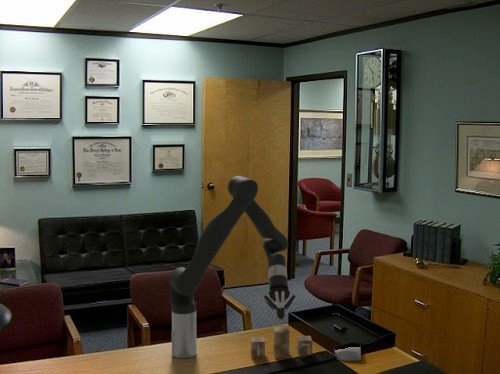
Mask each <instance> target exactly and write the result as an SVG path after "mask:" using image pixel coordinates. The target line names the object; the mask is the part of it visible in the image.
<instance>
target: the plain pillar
mask: <svg viewBox="0 0 500 374" xmlns="http://www.w3.org/2000/svg"><path fill="white" fill-rule="evenodd" d="M273 356H274V359H290V329H289V327H288V326H287V327H286V326H285V327H282V326H281V327H279V326H277V327H275V326H274V327H273Z"/></svg>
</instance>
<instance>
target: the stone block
mask: <svg viewBox="0 0 500 374" xmlns="http://www.w3.org/2000/svg"><path fill="white" fill-rule="evenodd" d="M361 350H362V349H361V346H360V347H348V348H345V349H338V350H335V349H334V356H335V357H336V359H338V361H357V362H358V361H361V358H362V357H361V354H362V351H361Z"/></svg>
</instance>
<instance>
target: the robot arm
mask: <svg viewBox="0 0 500 374" xmlns="http://www.w3.org/2000/svg"><path fill="white" fill-rule="evenodd" d="M227 190H228V193H229V195H230V196H231V197H232V199H231V201H230V203H229V204H228V206H226V207H225V208H224V209H223V210H222V211H220V212H219V213H218V214H217V215H215V216H213V217H212V218H211V219H210V220H209V221H208V223H207V225H205V226H204V229H203V231H202V232H201V233H200V235H199V238H198V242H197V244H196V248H195V252H194V255H193V257H192V259H191V260H190V261H189V263H188V265H187V266H186V267H182V266H181V267H177V268H175V269H173V271H172V272H171V274H170V277H169V282H168V283H169V301H170V306H171V357H172V358H176V359H190V358H193V357H195V356H197V352H198V351H197V348H198V347H197V303H196V301H195V298H194V293H195V292H196V291H197V290H198V288H199V286H200V284H201V282H202V280H203V278H204V276H205V274H206V272H207V270H208V268H209V267H210V265H211V263H212V262H213V261H214V259H215V257H216V256H217V254H218V252H220V250H221V248H222V246H223V245H224V243H225V241H227V239H228V237H229V235H230V234H231V232H232V230H233V229H234V227H235V226H236V224H237V223H238V221H239V220H240V218H241V217H242V215H243V214H244V213H245V214H246V215H247V216H248V218H249V219H250V221H251V223H252V224H253V225H254V226H253V227H254V228H255V229H256V231H257V233H258V234H259V236H260V237H261V238H262V239H264V240H263V242H262V248H263V251H264V252H265V256H266V260H267V264H268V289H269V291H268V294H267V295H266V294H265V295H264V296H263V301H264V302H265V303H266V305H268V306H269V308H270V309H271V310H276V317H277V319H278V320H284V318H285V316H286V315H285V310H288V309H289V308H290V307H291V305H293V303H294V301H295V300H296V295H295V294H292V293H291V292H290V290H289V282H288V281H289V280H288V271H287V265H286V257H285V256H284V254H281V252H284V251H287V249H288V248H289V241H288V238H287V237H286V235H285V234H284V233H282V231H280V230H279V229H278V228H277V227H276V226H275V224H274V223H273V222H272V219H271V218H270V216H269V215H268V214H267V212H265V210H264V209H263V208H262V207H261V206H260V205H259V204H258V203H257V201H256V200H255V198H256V197H257V195H258V191H259V186H258V183H257V181H256V180H254V179H253V178H252V179H251V178H249V177H245V176H242V175H236V176H235V175H234V176H232V177H231V178H230V180H229V181H228V183H227ZM287 300H288V301H287ZM286 301H287V302H286ZM285 302H286V304H285Z"/></svg>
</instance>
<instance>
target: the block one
mask: <svg viewBox="0 0 500 374" xmlns="http://www.w3.org/2000/svg"><path fill="white" fill-rule="evenodd" d="M250 355H251V356H250V357H251V359H266V341H265V336H251V337H250Z"/></svg>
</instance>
